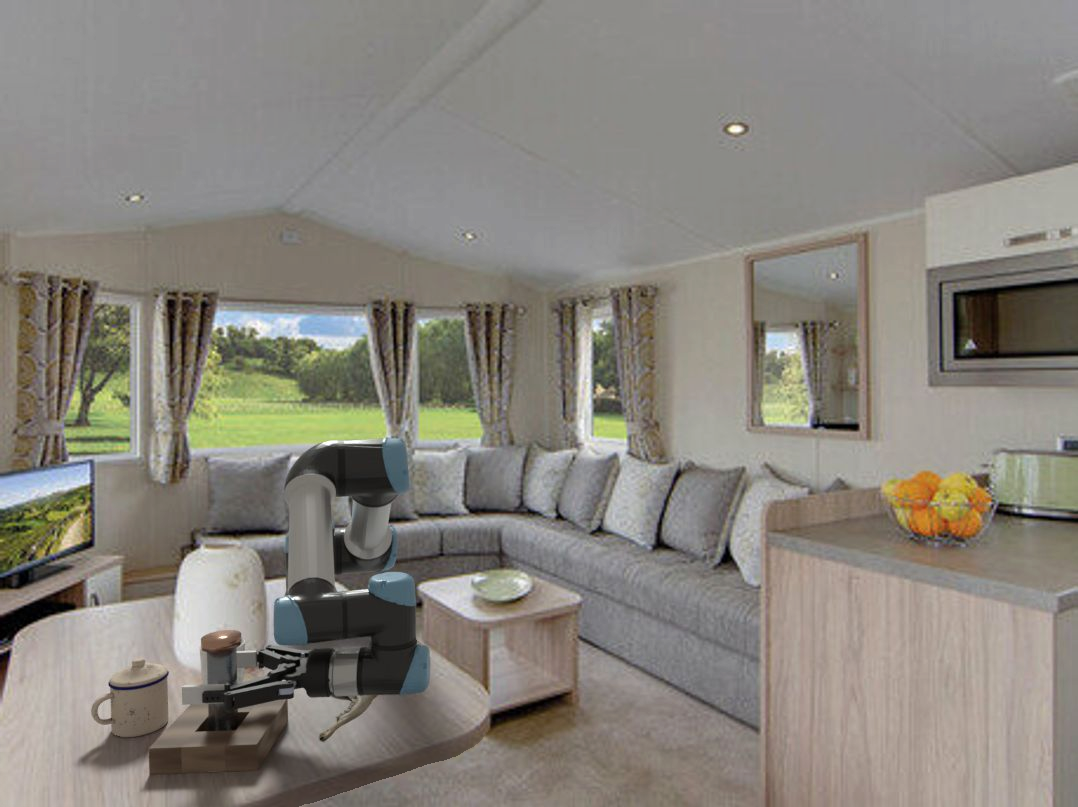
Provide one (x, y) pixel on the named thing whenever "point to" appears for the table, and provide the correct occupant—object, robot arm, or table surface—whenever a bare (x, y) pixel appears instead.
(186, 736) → the socket block
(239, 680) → the white cup
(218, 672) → the metal pin
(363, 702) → the jawbone
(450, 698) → the table surface
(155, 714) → the teacup with lid
